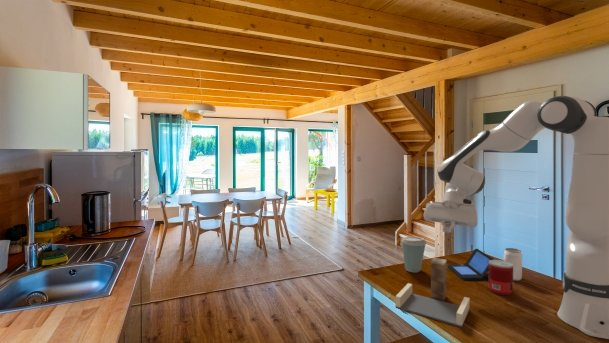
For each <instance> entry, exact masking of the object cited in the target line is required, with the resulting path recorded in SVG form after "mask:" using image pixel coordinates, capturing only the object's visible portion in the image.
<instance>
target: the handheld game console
mask: <svg viewBox="0 0 609 343" xmlns="http://www.w3.org/2000/svg"><path fill="white" fill-rule="evenodd" d="M490 260H495V259H494V258H493V257H491V256H490V255H488V254H486V253H485V252H483V251H482V250H480V249H478V248H475V249H474V250H473V251H472V253H471V254H470V255H469V257H468V259H467V260H466V262H464V263H457V264H455V263H449V264H447V267H448V269H450V270H451V271H452V272H453V273H454V274H455V275H456V276H457V277H459V278H460V280H463V281H485V279H486V278H485V277H486V275H487V274H488V273H489V261H490Z"/></svg>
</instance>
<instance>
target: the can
mask: <svg viewBox="0 0 609 343" xmlns="http://www.w3.org/2000/svg"><path fill="white" fill-rule="evenodd" d="M503 261H507V262H510V263H512V264H513V281H521V280H522V276H523V253H522V250H520V249H518V248H515V247H514V248H513V247H507V248H505V250H504V252H503Z"/></svg>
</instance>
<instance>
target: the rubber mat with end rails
mask: <svg viewBox="0 0 609 343" xmlns="http://www.w3.org/2000/svg"><path fill="white" fill-rule="evenodd" d="M470 299H471V298H470V297H466V296H464V297H463V299H462V301H461V303H460V305H457V304H454V303H450V302H447V301H444V300H439V299H435V298H431V297H428V296H423V295H421V294H416V293H413V283H409V282H408V283H406V285H405V286H404V287H403V288H401V290H400V291H398V293H397V294H396V295H395V309H399V310H402V311H404V312H409V313H412V314H415V315H419V316H421V317H426V318H429V319H432V320H435V321H439V322H442V323H445V324H447V325H452V326H455V327H459V328H463V325H464V323H465V321H466V319H467V317H468V314H469V312H470Z"/></svg>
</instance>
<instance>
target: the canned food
mask: <svg viewBox="0 0 609 343" xmlns="http://www.w3.org/2000/svg"><path fill="white" fill-rule="evenodd" d="M487 280H488V283H487V287H488V289H489V291H490V292H493V293H495V294H498V295H503V296H508V295H511V294H512V293H513V289H514V288H513V286H514V280H513V264H512V263H510V262H507V261H504V259H503V260H502V259H494V260H490V261H489V271H488V279H487Z"/></svg>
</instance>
